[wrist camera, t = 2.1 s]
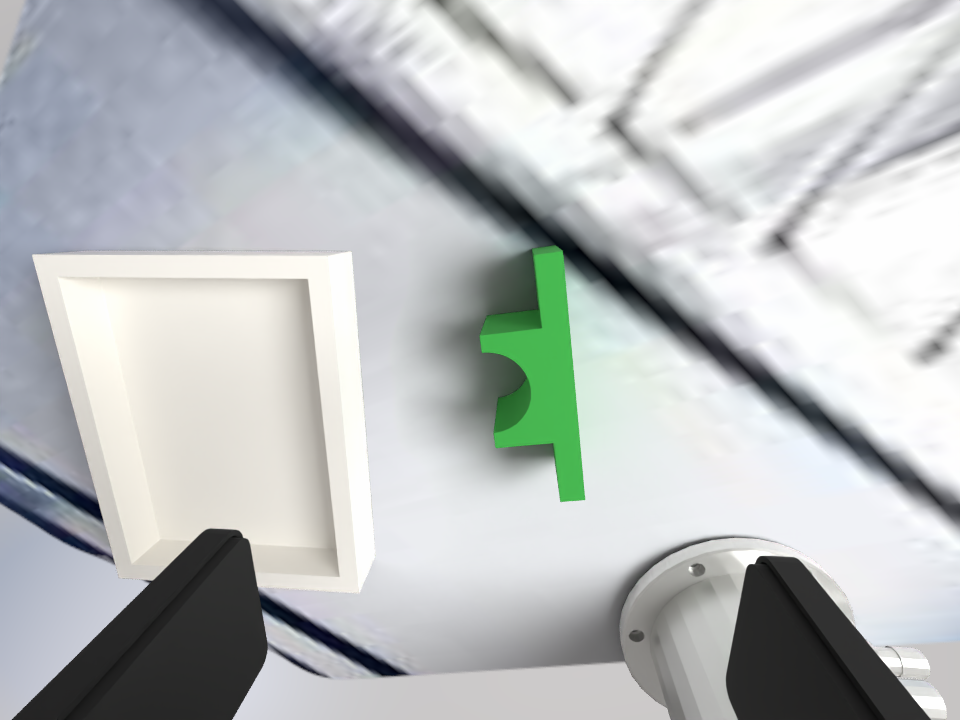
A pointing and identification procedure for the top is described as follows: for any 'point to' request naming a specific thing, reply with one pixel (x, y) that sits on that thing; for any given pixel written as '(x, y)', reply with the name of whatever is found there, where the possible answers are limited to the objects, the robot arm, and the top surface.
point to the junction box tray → (220, 405)
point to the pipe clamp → (541, 374)
